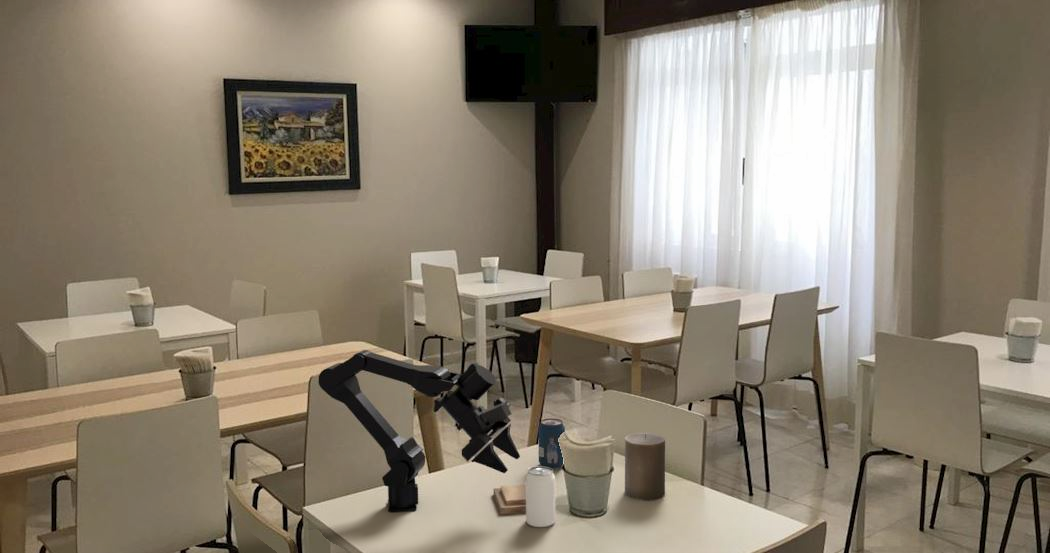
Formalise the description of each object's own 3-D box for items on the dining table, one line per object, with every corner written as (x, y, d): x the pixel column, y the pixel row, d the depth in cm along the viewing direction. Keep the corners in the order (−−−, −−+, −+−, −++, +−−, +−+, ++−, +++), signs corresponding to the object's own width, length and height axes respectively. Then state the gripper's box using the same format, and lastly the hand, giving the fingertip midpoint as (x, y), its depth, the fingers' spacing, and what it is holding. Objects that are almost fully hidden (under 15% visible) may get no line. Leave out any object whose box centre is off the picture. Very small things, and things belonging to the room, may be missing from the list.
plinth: (501, 514, 195) (500, 503, 195) (493, 494, 207) (493, 484, 207) (552, 510, 198) (552, 499, 197) (542, 490, 209) (542, 481, 209)
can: (556, 516, 194) (556, 465, 192) (554, 528, 188) (554, 476, 186) (527, 515, 195) (527, 464, 193) (524, 527, 188) (524, 475, 187)
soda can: (555, 459, 232) (555, 416, 230) (570, 466, 226) (570, 422, 224) (533, 464, 228) (533, 420, 226) (548, 472, 222) (548, 427, 221)
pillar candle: (670, 499, 204) (671, 438, 202) (630, 502, 202) (631, 440, 200) (657, 485, 213) (658, 426, 211) (619, 487, 212) (620, 428, 210)
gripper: (474, 401, 182) (524, 455, 180) (501, 379, 199) (548, 429, 198) (440, 434, 185) (489, 488, 183) (470, 410, 203) (515, 459, 201)
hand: (512, 464), depth 191 cm, fingers open, 9 cm apart
